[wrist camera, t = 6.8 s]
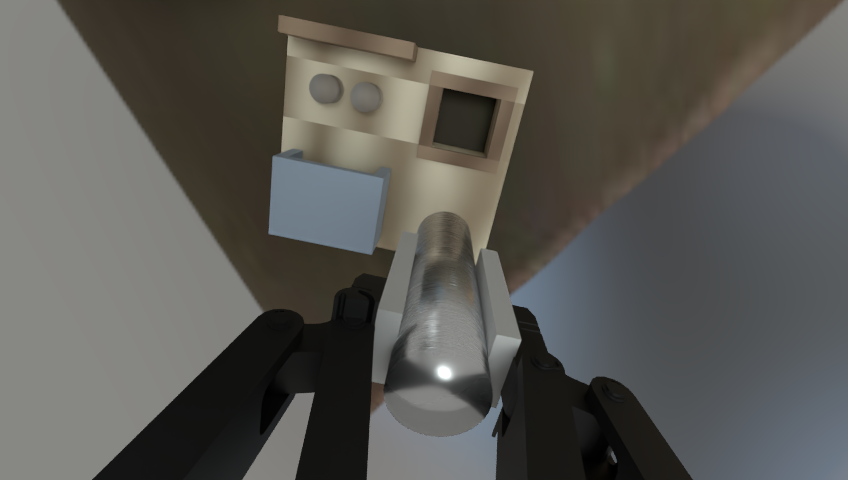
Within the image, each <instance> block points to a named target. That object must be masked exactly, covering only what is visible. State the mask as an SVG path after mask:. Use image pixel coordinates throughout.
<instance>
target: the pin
mask: <svg viewBox="0 0 848 480" xmlns="http://www.w3.org/2000/svg"><path fill="white" fill-rule="evenodd" d="M417 234H419V236H418V241H417V246H416V251H415V256H414V261H413V266H412V271H411V276H410V281H409V286H408V291H407V296H406V301H405V306H404V311H403V316H402V321H401V325H400V329H399V334H398V338H397V341H396V342H395V344H394V346H393V349H392V352H391V356H390V361H389V365H388V370H387V375H386V379H385V384H384V400H385V403H386V406H387V408H388V410H389V411H390V413H391V414H392V415H393V417H394V418H395V419H396V420H397V421H398V422H399V423H401V424H402V425H403V426H405V427H407V428H408V429H410V430H412V431H414V432H417V433H420V434H424V435H429V436H437V437H444V436H453V435H457V434H461V433H463V432H466V431H468V430H470V429H472V428H474V427H475V426H477V425H478V424H479V423H480V422H481V421H482V420H483V419H484V418H485V417H486V415H487V414H488V412H489V410H490V408H491V405H492V400H493V391H492V383H491V376H490V369H489V362H488V355H487V347H486V340H485V333H484V326H483V319H482V311H481V304H480V297H479V290H478V283H477V275H476V268H475V261H474V254H473V247H472V239H471V233H470V229H469V226H468V225H467V223H466V222H465V220H464V219H463V218H461V217H460V216H458V215H457V214H454V213H451V212H446V211H442V212H436V213H433V214H431V215H429V216H428V217H426V218H425V219H424V220H423V221H422V222H421V224H420V226H419V228H418V231H417Z"/></svg>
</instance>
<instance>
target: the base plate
mask: <svg viewBox="0 0 848 480" xmlns="http://www.w3.org/2000/svg"><path fill="white" fill-rule="evenodd" d="M278 32H280V33H283V34H286V35H288V47H287V64H286V80H285V97H284V114H283V131H282V147H281V153H282V152H285V151H288V150H290V149H298V150H302V151H303V154H302V159H303V160H308V161H313V162H318V163H323V164H328V165H333V166H338V167H342V168H347V169H352V170H357V171H362V172H367V173H372V174H375V173H376V172H377V171H378V170H379V169H380V168H381V167H385V168H390V169H391V174H390V180H389V186H388V192H387V198H386V204H385V211H384V217H383V223H382V229H381V235H380V239H379V241H378V243H377V245H376V247H379V248H384V249H389V250H394V251H396V249H397V246H398V243H399V240H400V237H401V233H402V231H406V232H411V233H415V234H417V231H418V228H419V226H420V224H421V222H422V221H423V220H424V219H425V218H426V217H428V216H429V215H431V214H433V213H436V212H442V211H446V212H451V213H454V214H457V215H458V216H460V217H461V218H463V219H464V220H465V222H466V223H467V225H468V226H469V229H470V233H471V239H472V247H473V254H474V261H475V266H476V263H477V259H478V256H479V253H480V249H481V248H483V249H486V246H487V242H488V238H489V235H490V231H491V227H492V224H493V220H494V216H495V212H496V209H497V205H498V201H499V198H500V194H501V190H502V187H503V183H504V179H505V175H506V172H507V168H508V164H509V161H510V157H511V153H512V149H513V146H514V142H515V138H516V135H517V131H518V127H519V124H520V120H521V116H522V112H523V109H524V105H525V101H526V98H527V94H528V90H529V86H530V83H531V79H532V75H533V72H534V71H529V70H525V69H520V68H515V67H510V66H505V65H500V64H496V63H491V62H486V61H481V60H476V59H471V58H467V57H462V56H457V55H452V54H447V53H442V52H438V51H433V50H428V49H423V48H418V46H417V45H416V44H415V43H413V42H408V41H403V40H399V39H394V38H389V37H384V36H379V35H374V34H370V33H365V32H360V31H355V30H350V29H346V28H341V27H336V26H331V25H326V24H321V23H317V22H312V21H307V20H302V19H297V18H292V17H288V16H283V15H279V23H278ZM444 88H447V89H452V90H457V91H462V92H467V93H472V94H476V95H481V96H486V97H491V98H496V99H497V100H496V104H495V108H494V112H493V116H492V120H491V124H490V128H489V132H488V136H487V141H486V145H485V149H484V152H479V151H474V150H470V149H465V148H460V147H455V146H450V145H445V144H440V143H436V142H433V140H434V135H435V130H436V125H437V120H438V115H439V110H440V105H441V99H442V94H443V89H444Z"/></svg>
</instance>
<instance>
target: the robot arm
mask: <svg viewBox="0 0 848 480" xmlns="http://www.w3.org/2000/svg"><path fill="white" fill-rule="evenodd" d="M418 236H419V234H415V233H411V232H406V231H402V233H401V237H400V240H399V243H398V246H397V249H396V253H395V256H394V259H393V262H392V265H391V268H390V272H389V275H388V278H383V277H378V276H373V275H369V274H362V275H360V276H359V277H357V278H355V281H354V283H353V285H352V287H351V288H345V289H342V290H340V291H338V292H337V293H336V295H335V298H334V305H333V312H332V318H331V321H329V322H326V323H321V324H304V320H303V317H301V316H300V315H299V314H298V313H296V312H294V311H291V310H286V309H273V310H270V311H267V312H264V313H263V314H261V315H260V316H258V317H257V318H256V319H255V320H254V321H253V322H252V323H251V324H250V325H249V326H248V327H247V328H246V329H245V330H244V331H243V332H242V333H241V334H240V335H239V336H238V337H237V338H236V339H235V340H234V341H233V342H232V343H231V344H230V345H229V346H228V347H227V348H226V349H225V350H224V351H223V352H222V353H221V354H220V355H219V356H218V357H217V358H216V359H215V360H214V361H212V363H211V364H210V365H208V366H207V368H206V369H204V370H203V371H202V372H201V373H200V374H199V375H198V376H197V377H196V378H195V379H194V380H193V381H192V382H191V383H190V384H189V385H188V386H187V387H186V388H185V389H184V390H183V391H182V392H181V393H180V394H179V395H178V396H177V397H176V398H175V399H174V400H173V401H172V402H171V403H170V404H169V405H168V406H167V407H166V408H165V409H164V410H163V411H162V412H161V413H160V414H159V415H158V416H157V417H156V418H154V420H153V421H151V422H150V423H149V424H148V425H147V426H146V427H145V428H144V429H143V430H142V431H141V432H140V433H139V434H138V435H137V436H136V437H135V438H134V439H133V440H132V441H131V442H130V443H129V444H128V445H127V446H126V447H125V448H124V449H123V450H122V451H121V452H120V453H119V454H118V455H117V456H116V457H115V458H114V459H113V460H112V461H111V462H110V463H109V464H108V465H107V466H106V467H105V468H104V469H103V470H102V471H101V472H100V473H98V474H97V476H96V477H94V478H93V479H92V480H242V479H243V477H244V476H245V474H246V473H247V471H248V470H249V468H250V466H251V465H252V463H253V462H254V460H255V459H256V457H257V455H258V454H259V452H260V451H261V449H262V447H263V446H264V444H265V443H266V441H267V440H268V438H269V436H270V435H271V433H272V432H273V430H274V428H275V427H276V425H277V424H278V422H279V421H280V419H281V417H282V416H283V414H284V413H285V411H286V410H287V408H288V406H289V405H290V403H291V402H292V400H293V398H294V396H295V394H296V393H312V392H315V394H314V399H313V403H312V407H311V412H310V416H309V421H308V425H307V430H306V434H305V439H304V443H303V447H302V452H301V456H300V460H299V465H298V469H297V474H296V479H295V480H367V460H368V441H369V423H370V405H371V386H372V382H376V383H381V384H385V379H386V375H387V370H388V365H389V361H390V356H391V352H392V349H393V346H394V344H395V342H396V341H397V338H398V334H399V329H400V325H401V321H402V316H403V311H404V306H405V301H406V296H407V291H408V286H409V281H410V276H411V271H412V266H413V261H414V256H415V251H416V246H417V241H418ZM475 268H476V275H477V283H478V290H479V297H480V304H481V311H482V319H483V326H484V333H485V340H486V347H487V355H488V362H489V369H490V376H491V383H492V391H493V400H492V405H491V407H494V408H496V406H497V404H498V401H499V399H500V396H501V397H502V402H503V407H502V409H501V412H500V414H499V417H498V420H497V422H496V425H495V428H494V430H493V433H492V436H493V437H495V436H496V433H497V432H498V438H497V439H498V440H497V465H496V480H693V479H692V478H691V477H690V475H689V474H688V472H687V471H686V469H685V468H684V466H683V465H682V463H681V462H680V461H679V459H678V458H677V456H676V455H675V453H674V452H673V450H672V449H671V448H670V446H669V445H668V443H667V442H666V440H665V439H664V438H663V436H662V435H661V433H660V432H659V430H658V429H657V428H656V426H655V424H654V423H653V422H652V420H651V419H650V417H649V416H648V414H647V413H646V412H645V410H644V409H643V407H642V406H641V404H640V403H639V401H638V400H637V398H636V397H635V396H634V394H633V393H632V392H631V391H630V390H629V389H628V388H626V387H625V386H624V385H622V384H621V383H620V382H618V381H615V380H613V379H610V378H607V377H596V378H593V379H592V381H591V383H590V385H587V384H584V383H582V382H580V381H578V380H575V379H573V378H571V377H569V376H567V375H566V374H565V370H564V367H563V365H562V363H561V362H560V361H559V360H558V359H557V358H556V357H554V356H553V355H551V354H550V353H548V351H547V348H546V346H545V343H544V340H543V337H542V335H541V334H540V329H539V327H538V323H537V321H536V318H535V316H534V315H533V314H532V313H531V312H530V311H529V310H528V309H527V308H524V307H519V306H515V305H512V303H511V300H510V296H509V293H508V289H507V285H506V282H505V278H504V274H503V271H502V267H501V264H500V260H499V256H498V253H497V252H496V251H492V250H487V249H483V248H481V249H480V253H479V256H478V259H477V263H476V266H475ZM612 451H613V452H614V454H615V456H616V459H617V463H615V462H614V460H613V458H612V456H611V452H612Z"/></svg>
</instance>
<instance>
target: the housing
mask: <svg viewBox="0 0 848 480" xmlns="http://www.w3.org/2000/svg"><path fill="white" fill-rule="evenodd" d="M302 154H303V151H302V150H298V149H290V150H288V151H285V152H282V153H279V154H277V155H274V156H273V161H272V180H271V199H270V218H269V234H272V235H277V236H281V237H286V238H291V239H296V240H301V241H306V242H311V243H316V244H321V245H326V246H331V247H336V248H340V249H345V250H350V251H355V252H360V253H365V254H370V255H372V253H373V251H374V249H375V247H376V245H377V243H378V241H379V239H380V235H381V229H382V223H383V217H384V211H385V204H386V198H387V192H388V186H389V180H390V174H391V169H390V168H385V167H381V168H380V169H379V170H378V171H377V172H376V173H375V174H372V173H367V172H362V171H357V170H352V169H347V168H342V167H338V166H333V165H328V164H323V163H318V162H313V161H308V160H303V159H302Z"/></svg>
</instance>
